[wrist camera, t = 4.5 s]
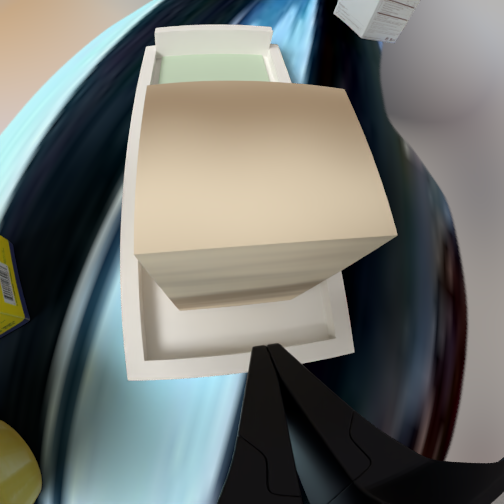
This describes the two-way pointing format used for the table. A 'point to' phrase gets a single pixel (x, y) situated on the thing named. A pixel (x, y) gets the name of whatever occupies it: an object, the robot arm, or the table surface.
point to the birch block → (253, 191)
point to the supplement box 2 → (376, 17)
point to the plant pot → (17, 469)
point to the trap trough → (224, 318)
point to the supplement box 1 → (10, 291)
